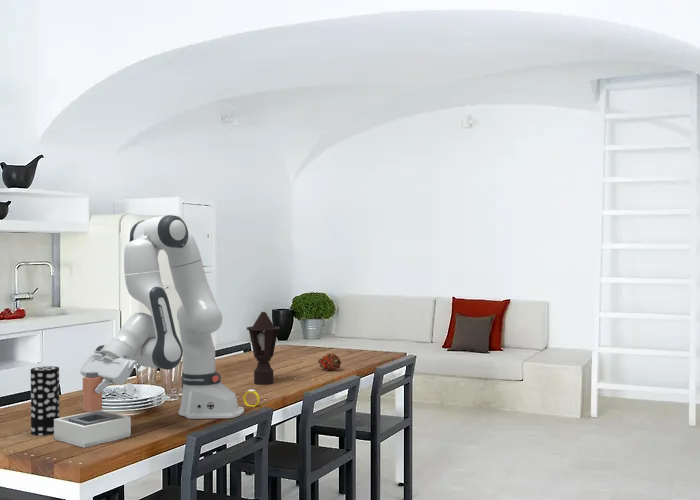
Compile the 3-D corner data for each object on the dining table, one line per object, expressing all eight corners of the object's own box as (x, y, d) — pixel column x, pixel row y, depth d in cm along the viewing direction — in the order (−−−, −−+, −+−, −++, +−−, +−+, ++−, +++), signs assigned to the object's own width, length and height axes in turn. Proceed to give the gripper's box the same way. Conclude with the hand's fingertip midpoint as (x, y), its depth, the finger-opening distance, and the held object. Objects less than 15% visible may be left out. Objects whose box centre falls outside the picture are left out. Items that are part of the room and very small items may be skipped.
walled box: (100, 428, 242) (100, 409, 242) (130, 436, 232) (130, 416, 232) (54, 438, 229) (53, 419, 229) (84, 447, 219) (83, 427, 219)
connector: (94, 408, 233) (94, 370, 233) (102, 409, 231) (101, 372, 231) (82, 410, 230) (82, 372, 230) (90, 412, 228) (90, 374, 228)
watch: (260, 406, 275) (261, 390, 275) (256, 408, 272) (257, 392, 272) (245, 404, 277) (246, 388, 277) (241, 406, 274) (242, 389, 274)
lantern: (284, 380, 326) (284, 310, 325) (277, 386, 311) (277, 313, 310) (250, 379, 327) (250, 310, 327) (242, 386, 312) (241, 313, 312)
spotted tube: (63, 428, 242) (62, 366, 242) (54, 435, 234) (53, 370, 233) (37, 429, 242) (36, 366, 241) (26, 435, 233) (26, 370, 233)
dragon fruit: (341, 375, 346) (319, 376, 352) (347, 362, 353) (326, 363, 359) (333, 361, 342) (311, 363, 349) (340, 348, 349) (318, 350, 355)
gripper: (144, 364, 233) (117, 401, 225) (105, 358, 246) (78, 393, 238) (132, 351, 229) (104, 389, 222) (93, 346, 242) (65, 381, 234)
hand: (90, 391), depth 230 cm, fingers closed on connector, 4 cm apart
